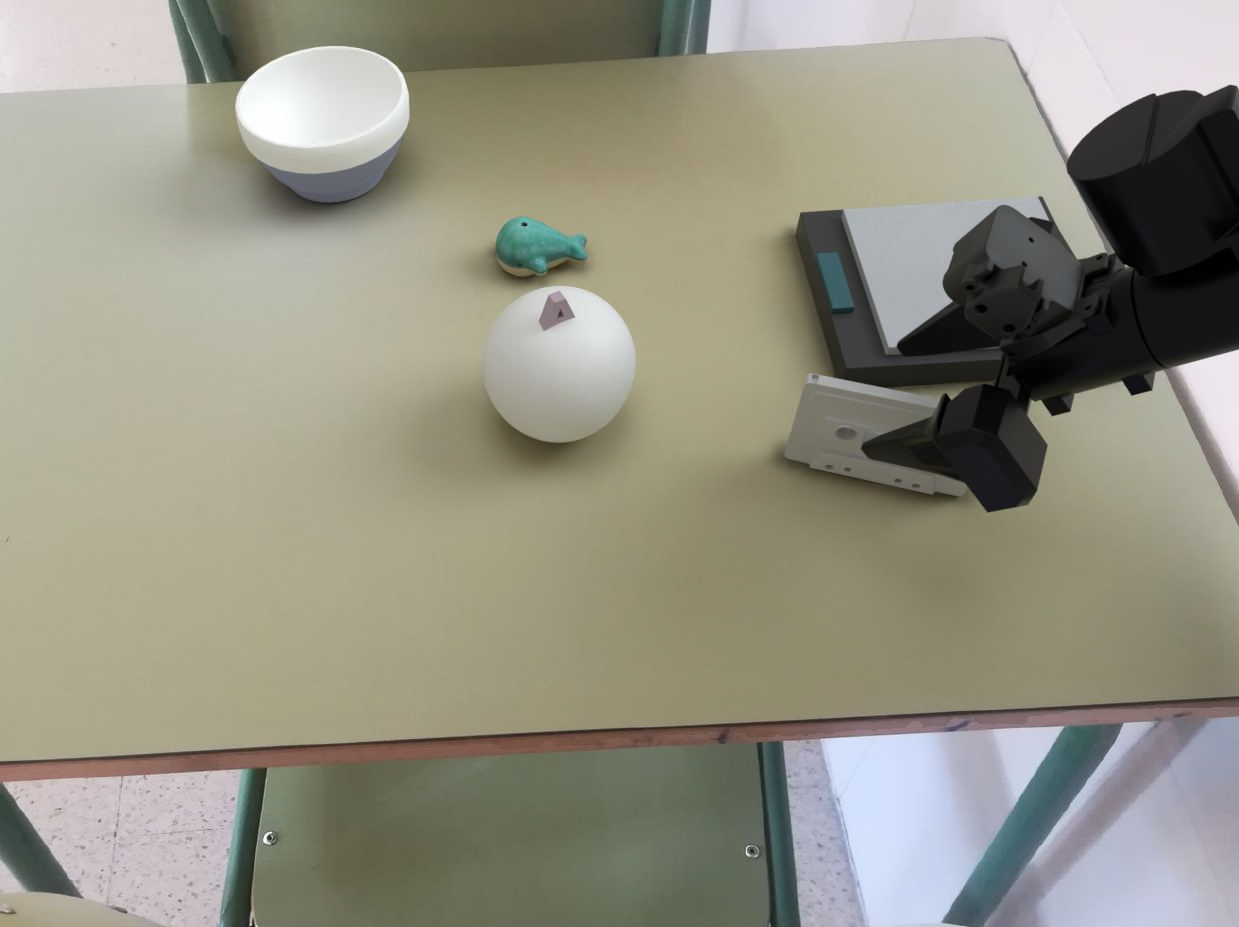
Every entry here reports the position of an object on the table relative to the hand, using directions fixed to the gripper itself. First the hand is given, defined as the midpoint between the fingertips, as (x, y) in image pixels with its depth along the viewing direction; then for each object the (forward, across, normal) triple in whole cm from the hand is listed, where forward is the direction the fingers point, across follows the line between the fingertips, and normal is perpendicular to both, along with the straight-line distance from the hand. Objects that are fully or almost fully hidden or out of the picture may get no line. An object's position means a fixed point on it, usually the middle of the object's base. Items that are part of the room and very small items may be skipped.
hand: (882, 399), depth 66 cm
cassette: (+4, 0, +6) cm, 7 cm away
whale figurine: (+25, -11, -15) cm, 31 cm away
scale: (+3, -19, +7) cm, 20 cm away
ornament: (+20, +3, -10) cm, 22 cm away
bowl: (+41, -16, -30) cm, 53 cm away
